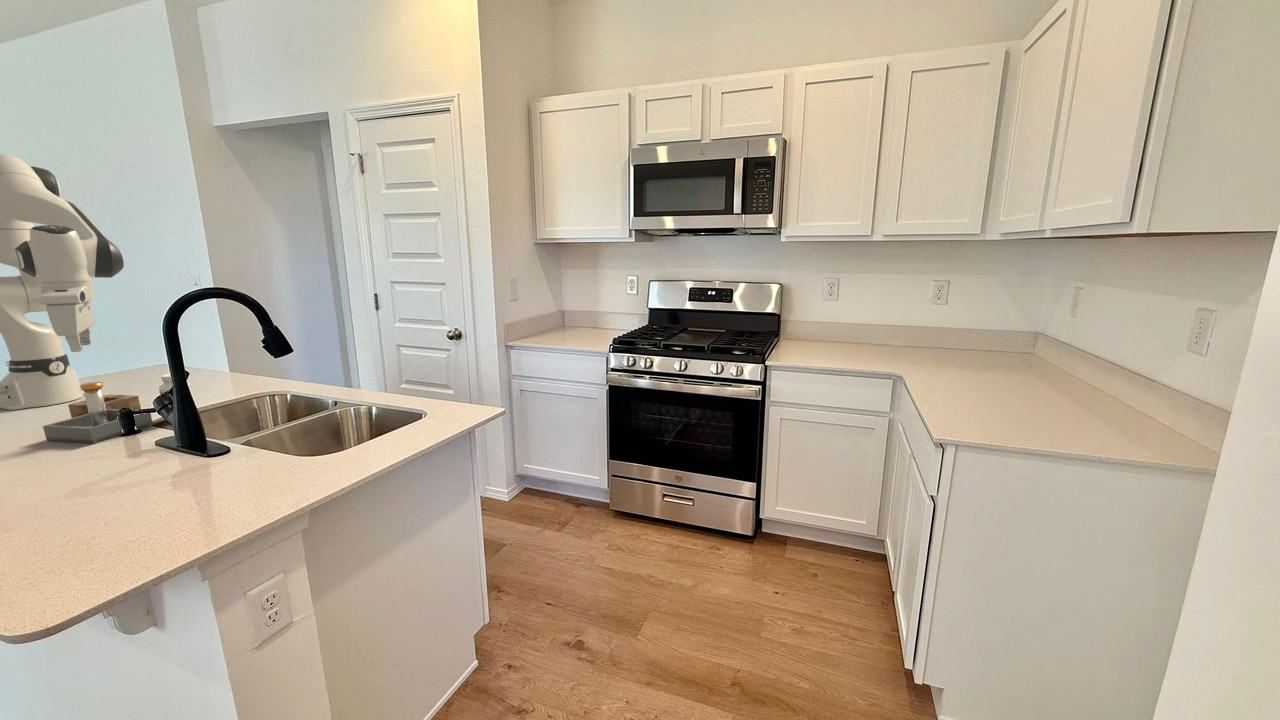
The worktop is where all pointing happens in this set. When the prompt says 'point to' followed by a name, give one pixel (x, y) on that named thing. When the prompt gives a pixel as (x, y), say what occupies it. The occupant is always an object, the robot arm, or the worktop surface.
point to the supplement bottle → (167, 384)
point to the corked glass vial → (95, 403)
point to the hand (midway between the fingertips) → (81, 348)
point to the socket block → (107, 404)
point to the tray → (91, 428)
